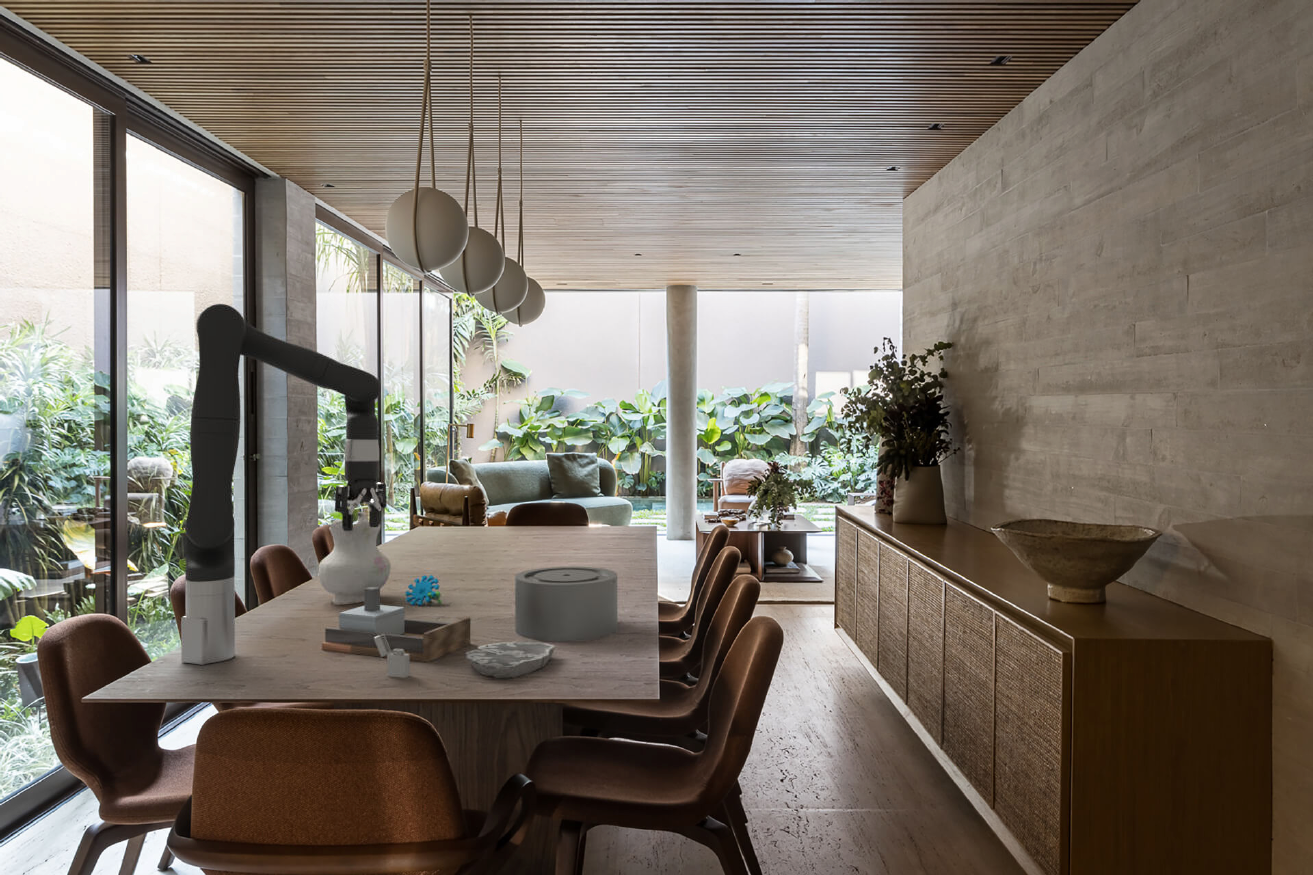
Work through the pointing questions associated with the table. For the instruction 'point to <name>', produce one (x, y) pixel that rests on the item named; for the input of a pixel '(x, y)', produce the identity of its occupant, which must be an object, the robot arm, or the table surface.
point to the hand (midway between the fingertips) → (361, 528)
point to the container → (565, 603)
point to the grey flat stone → (510, 658)
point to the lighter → (394, 658)
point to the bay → (404, 639)
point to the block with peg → (373, 616)
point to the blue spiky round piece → (423, 591)
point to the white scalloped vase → (353, 562)
